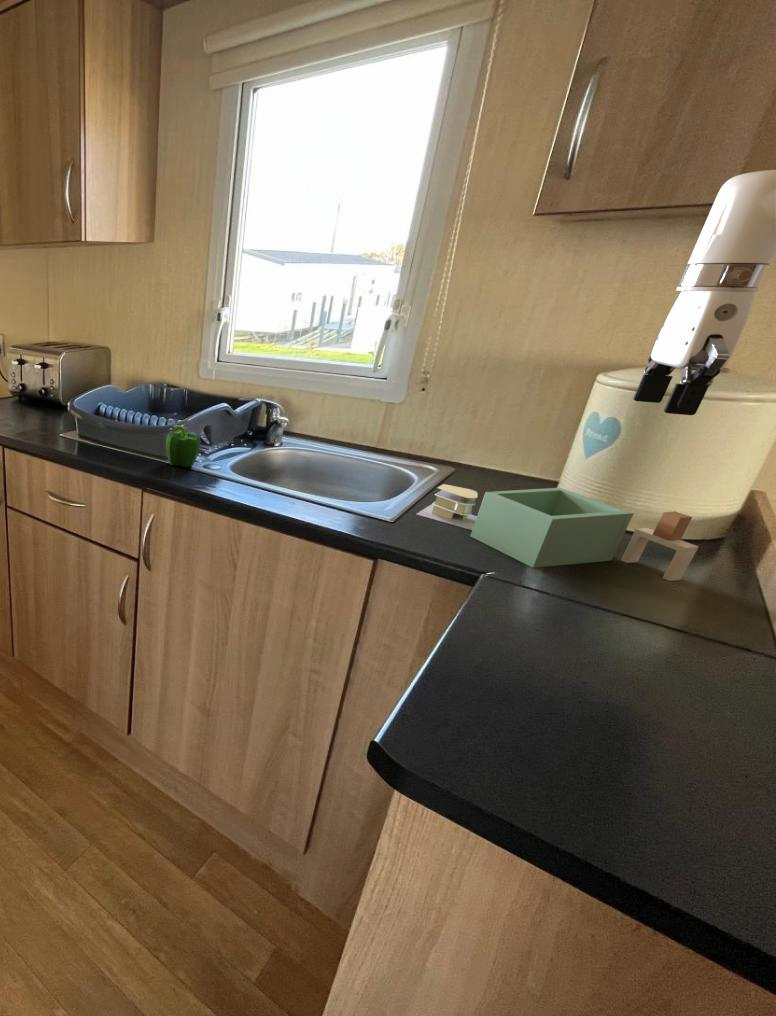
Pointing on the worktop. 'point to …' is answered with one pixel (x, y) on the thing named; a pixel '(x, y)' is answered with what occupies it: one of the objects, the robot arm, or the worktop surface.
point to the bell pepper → (182, 447)
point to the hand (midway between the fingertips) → (661, 407)
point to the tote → (550, 526)
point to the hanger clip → (665, 543)
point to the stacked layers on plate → (452, 506)
